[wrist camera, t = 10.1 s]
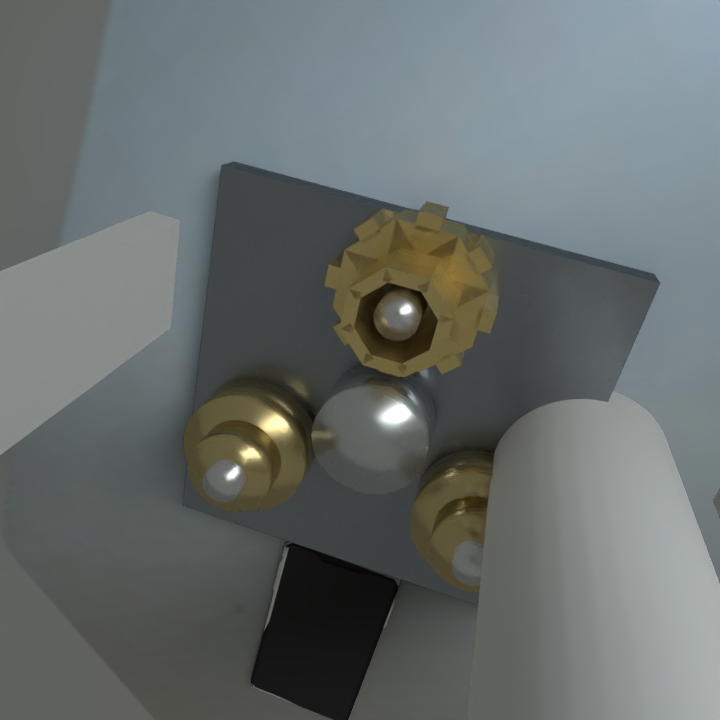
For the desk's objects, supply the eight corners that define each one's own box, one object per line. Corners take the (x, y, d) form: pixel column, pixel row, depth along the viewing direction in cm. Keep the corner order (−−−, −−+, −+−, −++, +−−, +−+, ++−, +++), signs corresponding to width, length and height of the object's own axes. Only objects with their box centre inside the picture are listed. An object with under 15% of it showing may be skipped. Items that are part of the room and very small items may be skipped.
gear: (356, 182, 32) (321, 204, 27) (521, 226, 31) (520, 258, 26) (325, 333, 36) (289, 379, 30) (472, 377, 35) (462, 432, 29)
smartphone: (247, 685, 50) (285, 539, 43) (253, 672, 51) (291, 527, 44) (347, 725, 49) (402, 583, 42) (351, 711, 50) (405, 570, 43)
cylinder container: (524, 541, 40) (516, 1479, 13) (468, 410, 38) (319, 1249, 11) (688, 507, 37) (1113, 1669, 10) (639, 360, 34) (1036, 1404, 7)
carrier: (233, 161, 35) (168, 181, 28) (654, 274, 32) (685, 323, 26) (192, 492, 44) (137, 561, 38) (514, 599, 42) (511, 693, 35)
